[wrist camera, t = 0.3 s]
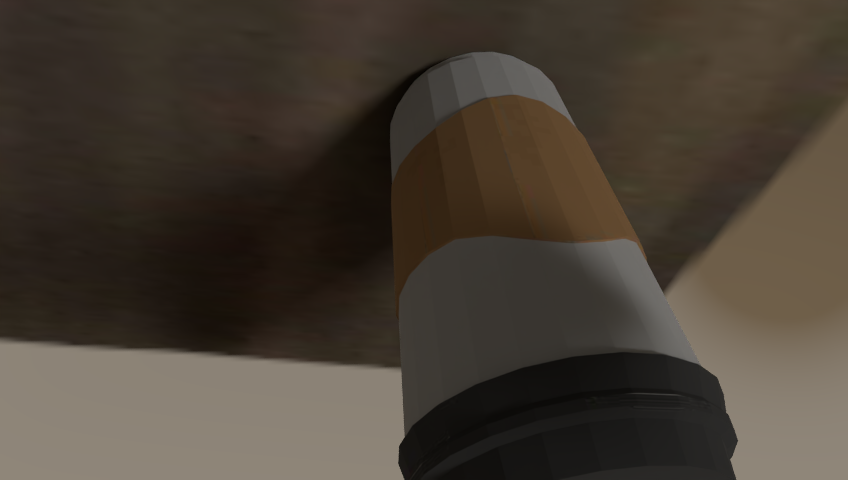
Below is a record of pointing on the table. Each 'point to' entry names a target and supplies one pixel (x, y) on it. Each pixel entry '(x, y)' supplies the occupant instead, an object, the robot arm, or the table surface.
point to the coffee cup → (531, 298)
